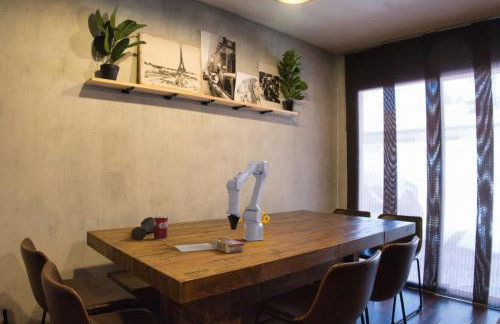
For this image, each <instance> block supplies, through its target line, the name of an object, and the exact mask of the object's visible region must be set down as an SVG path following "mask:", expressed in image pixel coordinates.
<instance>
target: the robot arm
mask: <svg viewBox="0 0 500 324" xmlns="http://www.w3.org/2000/svg"><path fill="white" fill-rule="evenodd" d="M269 165H270V164H269V163H268V161H267V160H262V161H261V160H257V161H255V160H252V161H250V162H249V164H248V166H247V168H246V169H245V170H244V171H239V172H238V173H237V174H236V175H235V176H234V177H233V178H231V179H228V181H227V183H226V184H225V187H226V190H227V194H228V202H227V203H228V205H227V206H228V207H227V208H228V209H227V210H226V212H225V213H226V214H227V219H228V221H229V226H230V230H231V231H236V230H237V227H238V223H239V221H240V220H241V219H242V221H243V222H244V224H245V226H244V237H241V239H242V240H244V241H248V242H252V241H264V226H263V224H262V223H261V221H262V218H263V215H262V214H263V210H262V209H261V208H260V203H261V199H262V196H263V192H264V187H265V183H266V179H267V177H268V175H269V170H270V166H269ZM251 175H252V176H253V177H254V178H255V182H254V185H253V191H252V194H251V198H250V202H249V204H248V205H247V206H246V207H245V208H244V210H243V212H241V211H240V210H241V208H240V207H241V205H240V204H241V203H240V201H241V200H240V199H241V198H240V197H241V191H242V189H243V186H244V184H245V183H246V182H247V181H248V180H249V177H250V176H251Z"/></svg>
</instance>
